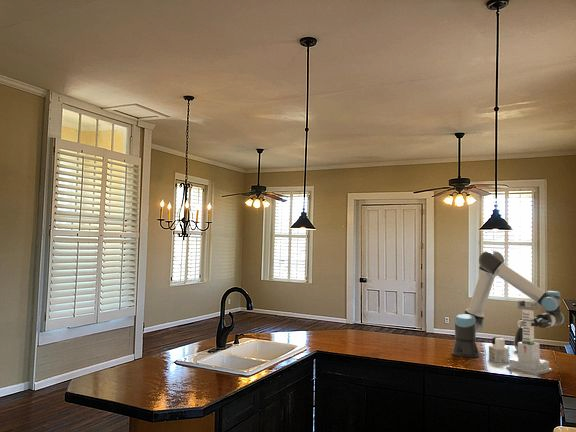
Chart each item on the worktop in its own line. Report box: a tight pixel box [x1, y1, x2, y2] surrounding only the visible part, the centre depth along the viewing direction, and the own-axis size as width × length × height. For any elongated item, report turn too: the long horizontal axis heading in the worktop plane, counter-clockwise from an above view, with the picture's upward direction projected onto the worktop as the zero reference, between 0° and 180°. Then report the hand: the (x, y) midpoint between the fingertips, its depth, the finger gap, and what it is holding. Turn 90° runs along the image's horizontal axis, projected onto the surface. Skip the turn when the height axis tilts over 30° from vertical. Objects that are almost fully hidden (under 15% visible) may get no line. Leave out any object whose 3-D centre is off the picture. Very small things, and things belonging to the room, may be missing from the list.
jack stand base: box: [505, 341, 553, 376], centre depth 245 cm, size 16×16×15 cm
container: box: [488, 336, 510, 363], centre depth 263 cm, size 8×8×13 cm
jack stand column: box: [517, 300, 539, 345], centre depth 245 cm, size 8×5×30 cm, turn 35°
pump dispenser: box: [513, 326, 523, 352], centre depth 286 cm, size 10×10×15 cm
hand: (522, 324), depth 242 cm, fingers closed on jack stand column, 4 cm apart
